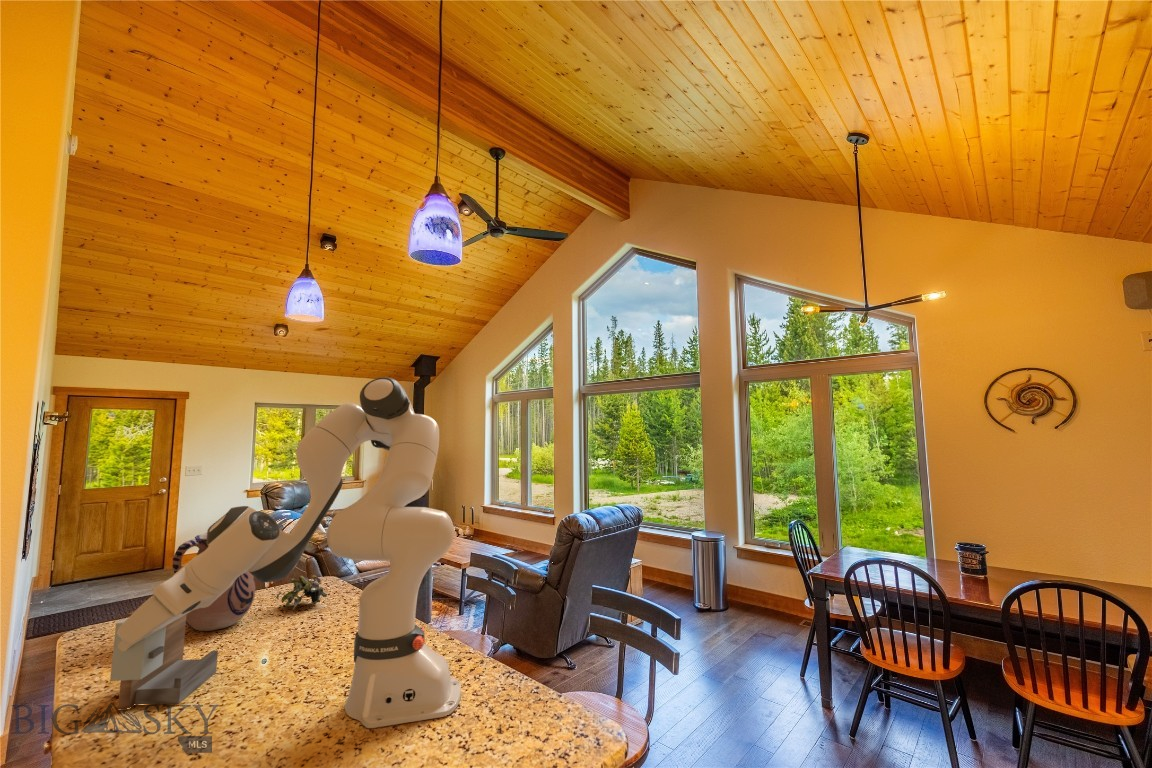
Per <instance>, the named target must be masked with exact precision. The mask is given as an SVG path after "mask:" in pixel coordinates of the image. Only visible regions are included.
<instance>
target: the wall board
mask: <svg viewBox="0 0 1152 768" xmlns="http://www.w3.org/2000/svg"><path fill="white" fill-rule="evenodd" d="M136 610H137V609H135V610H133V611H131V612H129V613H127V614H126V618H128V617H130V616H131V615H132V614H133V613H134V612H135V611H136ZM186 615H187V614H186ZM186 615H184V616H182V617H180V618H179V619H177V620H175V621H173V622H172V623H170V624H168V625H167V626H166V633H165V643H164V654H163V664H162V665H161V666H160V667H159V668H157V669H156V670H154V671H153V672H151V673H150V674H148V675H147V676H145V677H144V678H142V679H141V680H122V681H119V684H120V685H119V694H118V704H117V710H118V709H127V708H130V707H132V706H133V705H134V704H158V705H175V704H176V705H177V704H180V703H182V702H183V701H184V700H185V699H186V698H187V697H189V696H190V695H191V694H193V692H195V691H196V690H197V689H199V688H200V687H201V686H202V685H203V684H204V683H206V682H207V681H208V680H210V678H212V677H213V676H214V675H215V674H216V673H217V670H218V669H217V667H218V656H219V650H216V649H214V650H211V651H209V652H208V653H206V654H205V655H204V656H203V657H201V658H198V659H184V650H185V649H184V648H185V647H184V646H185V639H186V638H185V636H186V628H187V627H186V626H187V625H186ZM132 708H133V707H132Z"/></svg>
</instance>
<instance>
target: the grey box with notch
mask: <svg viewBox="0 0 1152 768" xmlns="http://www.w3.org/2000/svg"><path fill="white" fill-rule="evenodd" d="M128 618H129V617H128ZM128 618H127V617H126V618H125V619H122V620H119V621H117V622H116V623H115V632H114V638H113V639H114V642H113V650H112V660H111V668H110V669H111V670H110V678H109V682H118V681H119V682H121V681H122V680H141V679H142V678H144V677H145V676H147V675H148V674H150V673H151V672H153V671H154V670H156V669H157V668H159V667H160V666H161V665H162V664H163V654H164V643H165V633H166V626H165V627H163V628H161V629H160V630H158V631H156V632H154V633H153V634H151V635H149V636H147V637H146V638H144V639H142V640H140V641H139V642H137V643H135V644H134V645H133V646H132V647H131V648H129V649H128V650H126V651H121V650H120V649H119V648H118V646H117V645H118V644H119V643H120V642H121V641H122V639H121V638H120V637H119V636H118V635H117V631H118V629H119V627H120V626H121V625H122V624H123V623H124V622H125V621H126V620H127V619H128Z"/></svg>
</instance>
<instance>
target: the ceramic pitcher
mask: <svg viewBox="0 0 1152 768" xmlns="http://www.w3.org/2000/svg"><path fill="white" fill-rule="evenodd" d="M193 547H197V548H198V550H197V553H196V555H195V556H197V555H199V554H201V553H202V552H204V551H205V550H206V549H207V548H208V547H209V546H208V545H207V532H205V533H201V534H197V535H196V536H195V537H194V538H193V539H190V540H187V541H185V542H183V543H181V544H180V545H179V546H178V547H177V549H176V551H175V553H174V555H173V557H172V569H173V570H172V571H173V575H174V574H175V573H176V572H178V571H179V570H180V569H181V568H182V567H183V566H182V559H183V556H184V555H185V554H186V552H187V551H188V550H189V549H191V548H193ZM255 595H256V578H255V577H254V576H253V575H252V574H251V573H250V572H249V571H247V572H246V573H244V574H242V575H240V576H239V577H238V578H237V579H236V580H235V581H234V583H233V584H232V586H231V587H230V588H228V589H227V590H226V591H225V592H224V593H223V594H222V595H221V596H220V597H218V598H217V599H216V600H215V601H214V602H213V603H212V604H211V605H210V606H208V607H205V608H199V609H195V610H193V611H191V612H189V613H187V615H186V626H188V627H189V628H191V629H192V630H196V631H198V632H199V631H200V632H211V631H216V630H220V629H225V628H228V627H230V626H233V625H235V624H237V622H239V621H240V620H241V619H243V617H244V616H246V614H247V613H248V611H249V610H250V608H251V607H252V606H253V605H252V604H253V602H254V600H255Z"/></svg>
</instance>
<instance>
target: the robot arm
mask: <svg viewBox="0 0 1152 768" xmlns="http://www.w3.org/2000/svg"><path fill="white" fill-rule="evenodd" d="M359 402H360V405H359V404H357V403H353V402H347V403H343V404H341V405H339V406H338V407H336V408H335V409H333V410H332V411H330V412H329V413H328V414H327V415H325V416H323V418H322V419H321V420H319V421H318V422H317V423H316V424H315V425H314V426H313V427H312V428H311V429H309V431H308V432H307V433H306V434H305V435H304V436H303V437H302V439H301V440H300V441H299V443H298V444H297V448H296V461H297V465H298V468H299V470H300V472H301V474H302V476H303V478H304V480H305V481H306V483H307V486H308V489H309V492H310V498H309V503H308V505H307V507H306V508H305V510H304V511H303V513H302V514H301V515H300V518H299V519H298V520H297V522H296V523H295V525H294V526H293V528H292V529H291V531H290V532H289V533H286V532H285V531H284V530H283V529H281V528H280V527H279V524H278V523H277V522H276V520H275V519H274V518H273V517H272V516H271V515H270V514H267V513H266V512H263V511H258V510H256V509H255V508H252V507H251V506H249V505H240V506H234V507H231V508H230V509H229V510H228V511H227V512H226V513H225V514H223V516H221V517H220V518H219V519H218V520H216V521H215V522H214V523H212V524H211V525H210V526H209V527H208V529H207V532H206V533H207V545H208V546H209V547H208V548H207V549H206V550H205V551H204V552H202V553H201V554H199V555H197V554H196V555H197V556H196V555H195V556H194V557H193V558H191V559H190V560H189V561H188V562H187V563H186V564H185V565H183V566H182V568H181V569H180V570H179V571H178V572H176V573H175V574H174V573H173V575H172V576H171V577H169V578H167V579H166V580H164V581H163V582H161V583H160V584H158V585H157V587H155V588H154V589H153V590H152V596H150V597H149V598H148V599H146V600H145V601H144V602H143V603H142V604H141V605H140V606H139V607H138V608H137V609H135V610H136V611H135V610H134V611H135V612H134V613H133V614H132V615H131V616H130V617H129V618H128V619H127V620H126V621H125V622H124V623H123V624H122V625H121V626H120V627H119V629H118V631H117V635H118V636H119V637H120V638H121V639H122V641H121V642H120V643H119V644H118V645H117V646H118V648H119V649H120V650H121V651H126V650H128V649H129V648H131V647H132V646H133V645H134V644H135V643H137V642H139V641H140V640H142V639H144V638H146V637H147V636H149V635H151V634H153V633H154V632H156V631H158V630H160V629H161V628H163V627H165V626H167V625H168V624H170V623H172V622H173V621H175V620H177V619H179V618H180V617H182V616H184V615H186V614H187V613H189V612H191V611H193V610H195V609H199V608H205V607H208V606H210V605H211V604H212V603H213V602H214V601H215V600H216V599H217V598H218V597H220V596H221V595H222V594H223V593H224V592H225V591H226V590H227V589H228V588H230V587H231V586H232V584H233V583H234V581H235V580H236V579H237V578H238V577H239V576H240V575H242V574H244V573H246V572H247V571H249V572H250V573H251V574H252V575H253V576H254V579H257V580H258V581H259V582H260V583H273V582H279V581H281V580H284V579H285V578H287V576H289V575H290V574H291V573H292V572H293V571H294V569H295V568H296V566H297V565H298V563H299V561H300V559H301V558H302V556H303V554H304V552H305V550H306V548H307V546H308V544H309V543H310V541H311V539H312V538H313V536H314V535H315V533H316V531H317V530H318V528H319V526H320V525H321V523H322V522H323V520H324V519H325V517H326V516H327V514H328V512H329V511H330V509H331V507H332V506H333V504H334V502H335V500H337V497H338V495H339V493H340V491H341V489H342V487H343V484H344V481H343V478H342V473H343V468H344V466H345V465H346V462H347V461H348V460H349V458H350V457H351V456H352V455H353V454H354V452H356V450H357V449H358V448H359V447H360V446H361V445H363V444H364V443H365V442H368V441H369V442H370V443H371V445H372V446H373V447H374V448H377V449H384V450H385V451H388V452H387V455H386V458H385V462H384V465H383V467H382V469H381V472H380V474H379V476H378V478H377V480H376V482H374V484H373V485H372V486H371V488H370V489H369V490H368V491H367V492H366V493H365V494H364V495H363V496H362V497H360V498H359V499H358V500H357V501H355V502H354V503H352V504H350V505H349V506H347V507H344V508H342V509H340V510H339V511H338V512H337V513H336V514H335V515H334V516H333V517H332V519H331V520H330V522H329V524H328V526H327V531H326V542H327V545H328V549H329V550H330V552H331V553H332V555H334V556H336V557H340V558H344V559H348V560H353V561H360V562H361V561H362V562H363V561H367V562H371V561H373V562H375V561H376V562H389V564H390V566H389V571H388V573H387V574H385V575H382V576H380V577H377V578H376V579H375V580H373V581H371V582H370V583H368V584H367V585H366V587H364V588H363V590H362V592H361V593H360V596H359V602H358V604H359V606H358V621H357V623H358V624H357V631H356V632H355V636H354V642H353V662H354V668H353V674H352V678H351V679H352V680H351V684H350V688H349V693H348V695H347V698H346V702H345V704H344V712H345V714H347V716H349V717H351V718H352V719H355V720H356V721H358V722H359V721H360V722H361V725H363V726H364V728H366V729H375V728H382V727H387V726H394V725H400V724H406V723H412V722H419V721H424V720H431V719H438V718H442V717H448V716H449V715H451V714H452V713H453V712H454V711H455V710H456V709H457V707H458V706H459V704H460V701H461V695H462V692H461V691H462V690H461V689H462V687H461V684H460V682H459V681H458V679H457V678H456V677H451V672H450V667H449V663H448V661H447V659H446V658H445V657H444V656H443V655H441V654H439V653H438V652H436V651H435V650H433V649H432V648H430V646H428V645H427V644H425V636H426V635H425V626H422V628H421V627H419V625H417V624H416V614H417V612H416V611H417V604H418V603H417V602H418V595H419V589H420V587H421V584H422V581H423V578H424V577H425V575H426V574H427V572H428V571H429V569H430V568H431V567H432V566H433V565H434V564H435V563H436V562H438V561H439V560H440V559H441V558H443V557H444V556H445V555H446V554H447V553H448V552H449V550H450V548H451V547H452V544H453V542H454V538H455V527H454V523H453V521H452V518H451V516H450V515H449V514H448V513H447V512H446V511H444V510H439V509H436V508H431V507H426V506H407V505H408V504H410V503H412V502H414V501H416V500H419V499H420V498H421V497H423V496H425V494H426V493H427V492H428V491H429V490H430V488H431V485H432V480H433V476H434V474H435V473H434V472H435V468H436V464H437V460H438V455H439V448H440V447H439V445H440V427H439V425H438V423H437V421H435V418H432V416H429V415H426V414H422V413H415V411H414V408H413V407H414V406H413V405H412V402H411V400H410V399H409V397H408V394H407V392H406V390H405V388H404V387H403V386H402V385H401V383H399V382H398V381H397V380H396V379H395V378H392V377H386V376H384V377H383V376H382V377H377V378H375V379H372V380H370V381H368V382H367V383H365V385H363V387H362V388H361V390H360V392H359ZM447 715H448V716H447Z"/></svg>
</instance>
